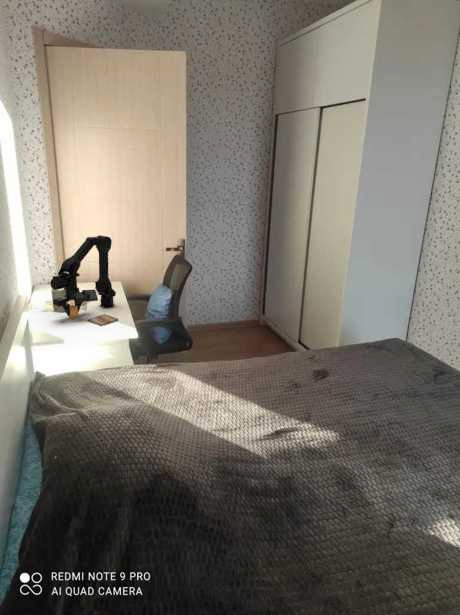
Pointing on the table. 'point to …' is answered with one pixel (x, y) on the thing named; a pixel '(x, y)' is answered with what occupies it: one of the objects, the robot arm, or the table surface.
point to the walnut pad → (102, 320)
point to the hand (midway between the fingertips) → (73, 314)
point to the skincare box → (58, 294)
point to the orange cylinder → (73, 312)
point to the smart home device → (91, 295)
